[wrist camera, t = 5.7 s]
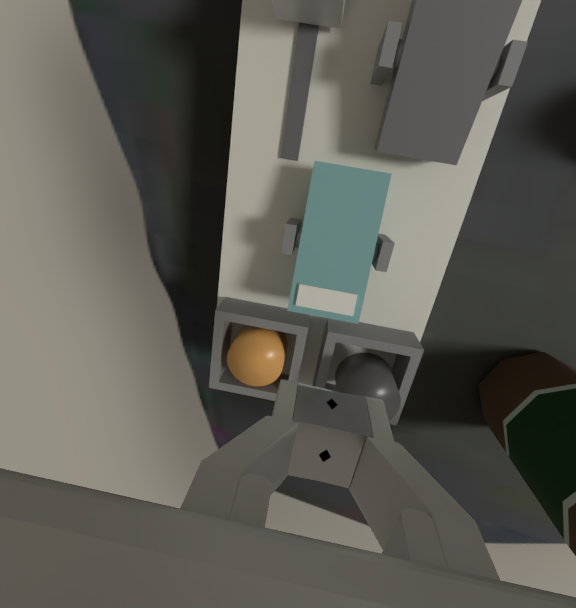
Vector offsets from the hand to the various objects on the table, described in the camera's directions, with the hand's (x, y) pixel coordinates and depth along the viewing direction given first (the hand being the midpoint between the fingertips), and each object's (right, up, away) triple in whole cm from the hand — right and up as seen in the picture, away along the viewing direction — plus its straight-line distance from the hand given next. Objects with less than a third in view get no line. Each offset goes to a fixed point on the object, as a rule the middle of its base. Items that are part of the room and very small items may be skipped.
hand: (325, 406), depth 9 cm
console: (+3, +11, +13) cm, 17 cm away
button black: (+4, -2, +11) cm, 12 cm away
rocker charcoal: (+6, +14, +5) cm, 16 cm away
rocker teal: (+2, +6, +8) cm, 11 cm away
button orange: (-3, 0, +13) cm, 14 cm away
